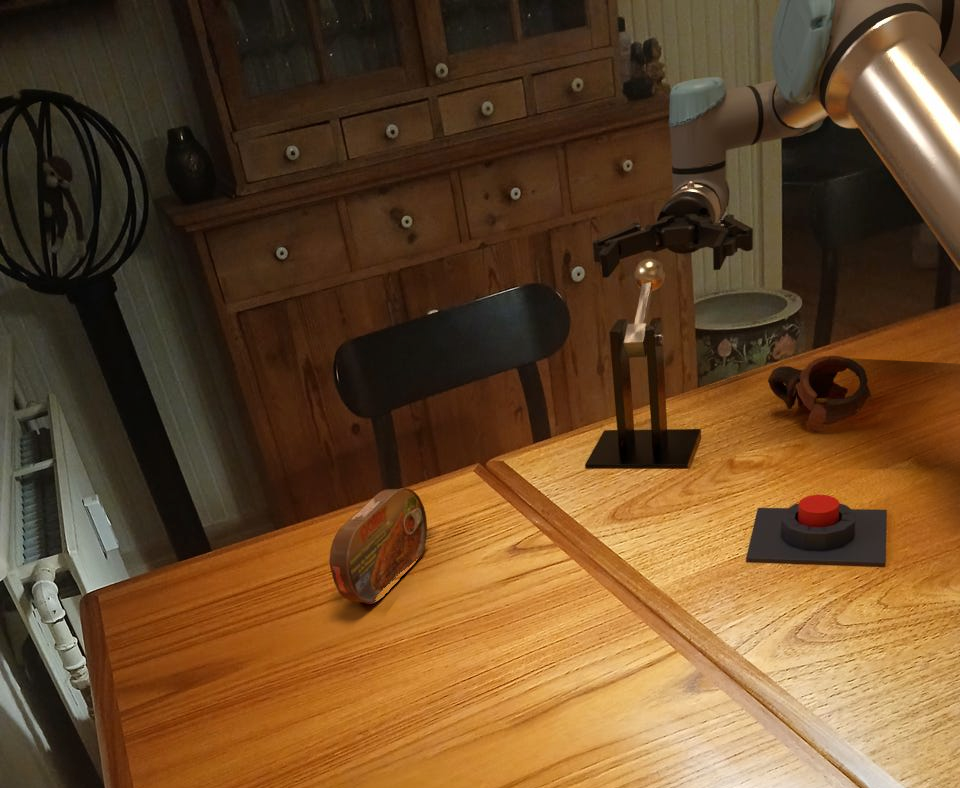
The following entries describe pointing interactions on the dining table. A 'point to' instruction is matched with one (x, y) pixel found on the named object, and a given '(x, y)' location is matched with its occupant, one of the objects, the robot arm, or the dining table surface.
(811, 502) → the button
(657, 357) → the bracket
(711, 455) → the dining table surface
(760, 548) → the button box
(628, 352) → the lever
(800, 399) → the pottery mug
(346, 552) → the tin
